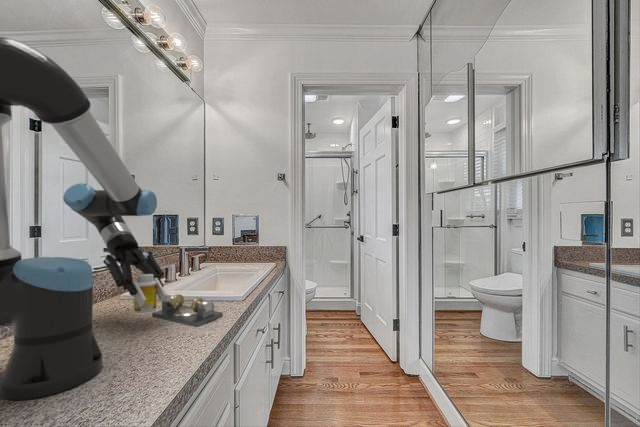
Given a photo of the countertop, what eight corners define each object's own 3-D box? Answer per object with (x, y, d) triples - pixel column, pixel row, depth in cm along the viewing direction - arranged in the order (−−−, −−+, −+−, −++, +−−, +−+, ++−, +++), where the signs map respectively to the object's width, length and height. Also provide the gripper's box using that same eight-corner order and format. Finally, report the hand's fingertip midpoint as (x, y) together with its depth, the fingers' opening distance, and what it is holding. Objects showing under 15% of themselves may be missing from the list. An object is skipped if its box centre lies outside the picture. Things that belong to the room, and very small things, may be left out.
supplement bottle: (158, 311, 86) (158, 275, 87) (135, 314, 83) (136, 277, 83) (154, 307, 91) (154, 272, 91) (132, 310, 87) (133, 274, 87)
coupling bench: (197, 326, 87) (197, 304, 87) (152, 316, 96) (152, 296, 96) (222, 316, 96) (222, 296, 96) (179, 308, 105) (179, 289, 105)
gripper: (143, 247, 102) (175, 301, 94) (80, 251, 86) (113, 317, 78) (154, 231, 100) (188, 285, 92) (91, 233, 84) (126, 299, 76)
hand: (153, 300), depth 85 cm, fingers closed on supplement bottle, 5 cm apart
